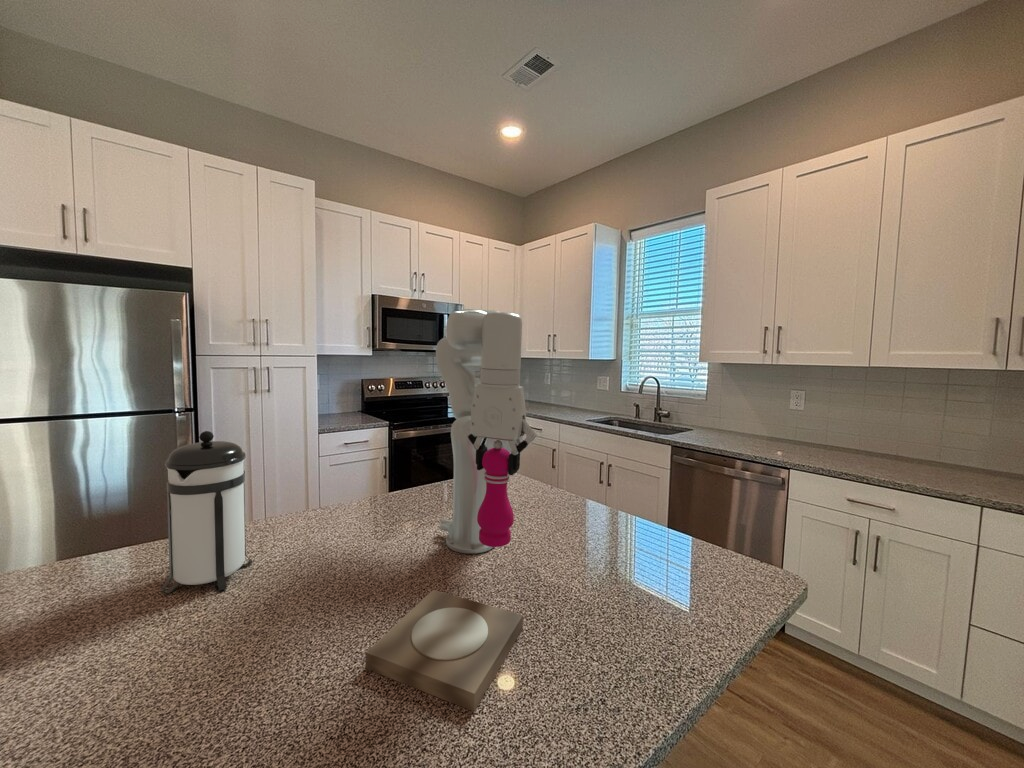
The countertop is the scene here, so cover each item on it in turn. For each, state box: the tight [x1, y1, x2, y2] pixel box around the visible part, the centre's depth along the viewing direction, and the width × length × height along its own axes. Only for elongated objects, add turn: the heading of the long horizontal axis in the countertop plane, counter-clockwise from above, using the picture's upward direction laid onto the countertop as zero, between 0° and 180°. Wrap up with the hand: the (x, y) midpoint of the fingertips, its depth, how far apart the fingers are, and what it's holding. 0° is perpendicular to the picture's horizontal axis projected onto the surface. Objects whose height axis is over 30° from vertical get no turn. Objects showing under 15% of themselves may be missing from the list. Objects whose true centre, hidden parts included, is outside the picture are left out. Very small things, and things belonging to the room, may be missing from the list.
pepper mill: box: [477, 440, 515, 548], centre depth 81 cm, size 7×7×20 cm
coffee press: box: [161, 430, 253, 595], centre depth 84 cm, size 17×16×30 cm
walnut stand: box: [365, 589, 524, 712], centre depth 66 cm, size 18×18×3 cm
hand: (497, 469), depth 81 cm, fingers closed on pepper mill, 5 cm apart
